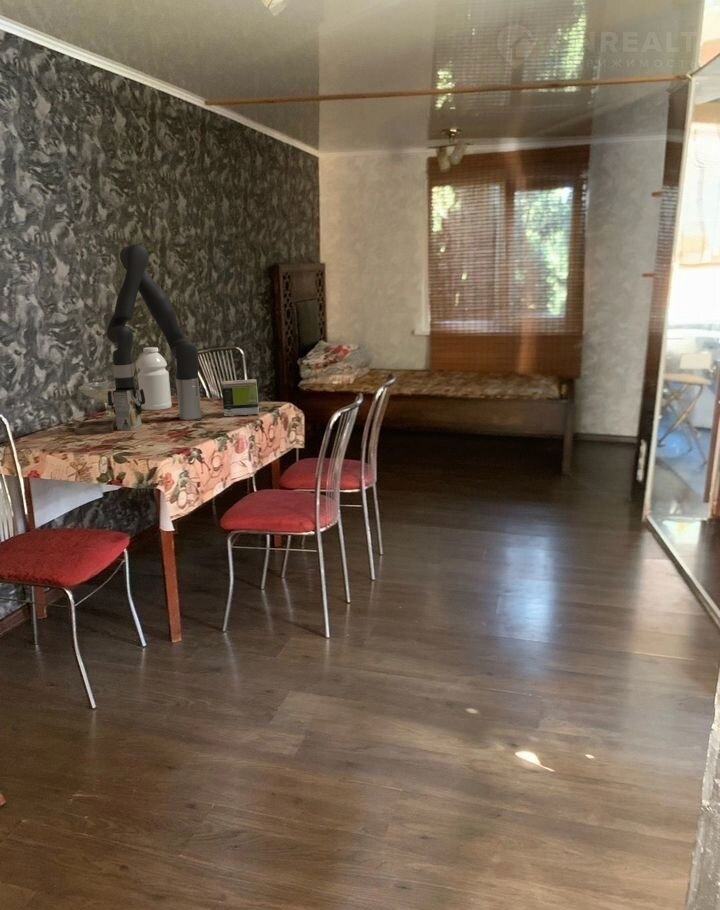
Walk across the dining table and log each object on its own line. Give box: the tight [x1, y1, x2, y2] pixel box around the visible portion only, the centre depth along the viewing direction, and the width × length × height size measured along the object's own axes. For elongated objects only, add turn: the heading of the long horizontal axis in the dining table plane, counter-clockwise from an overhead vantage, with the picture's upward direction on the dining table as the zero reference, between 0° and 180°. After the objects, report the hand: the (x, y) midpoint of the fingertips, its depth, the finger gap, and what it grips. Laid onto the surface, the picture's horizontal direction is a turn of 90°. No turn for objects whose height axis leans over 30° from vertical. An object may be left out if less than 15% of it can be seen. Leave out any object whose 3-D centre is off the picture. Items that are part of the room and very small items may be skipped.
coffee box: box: [112, 386, 143, 431], centre depth 282 cm, size 9×6×16 cm
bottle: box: [136, 346, 173, 411], centre depth 321 cm, size 14×14×28 cm
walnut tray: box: [73, 419, 117, 436], centre depth 280 cm, size 14×14×2 cm
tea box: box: [221, 378, 260, 417], centre depth 304 cm, size 15×10×15 cm
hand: (128, 415), depth 282 cm, fingers open, 8 cm apart
